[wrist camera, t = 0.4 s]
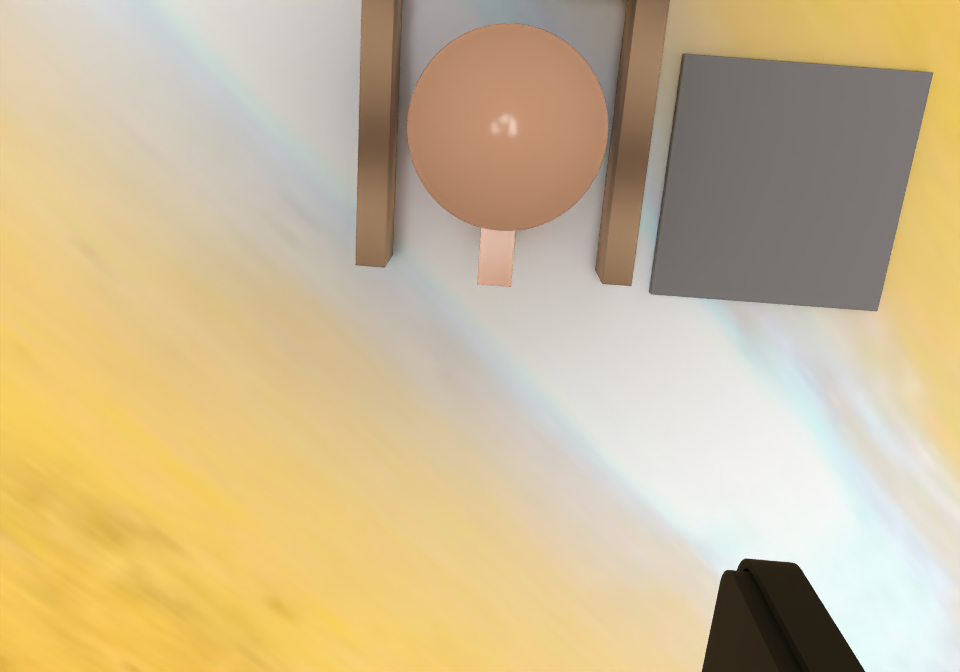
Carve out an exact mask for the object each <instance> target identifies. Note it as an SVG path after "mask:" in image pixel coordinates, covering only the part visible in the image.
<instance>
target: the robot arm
mask: <svg viewBox="0 0 960 672" xmlns="http://www.w3.org/2000/svg"><path fill="white" fill-rule="evenodd" d="M702 672H865V671H864V669H863V667H862V666H861V664H860V663H859V661H858V659H857V658H856V656H855V655H854V653H853V651H852V650H851V648H850V647H849V645H848V643H847V642H846V640H845V639H844V637H843V635H842V634H841V632H840V631H839V629H838V627H837V626H836V624H835V623H834V621H833V619H832V618H831V616H830V615H829V613H828V611H827V610H826V608H825V607H824V605H823V603H822V602H821V600H820V599H819V597H818V595H817V594H816V592H815V591H814V589H813V587H812V586H811V584H810V583H809V581H808V579H807V578H806V576H805V575H804V573H803V572H802V570H801V569H800V567H799V566H798V565H797V564H795V563H791V562H779V561H768V560H756V559H744V560H742V561H741V563H740V564H739V566H738V569H737V571H734V570H726V571H725V572H724V573H723V575H722V578H721V581H720V586H719V591H718V596H717V601H716V605H715V610H714V615H713V620H712V625H711V630H710V635H709V639H708V644H707V649H706V654H705V659H704V664H703V669H702Z"/></svg>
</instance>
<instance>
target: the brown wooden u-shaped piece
mask: <svg viewBox="0 0 960 672" xmlns="http://www.w3.org/2000/svg"><path fill="white" fill-rule="evenodd" d="M669 1H670V0H627V8H626V16H625V25H624V33H623V41H622V50H621V58H620V67H619V75H618V84H617V92H616V100H615V109H614V117H613V126H612V134H611V143H610V151H609V160H608V168H607V176H606V185H605V193H604V202H603V210H602V219H601V227H600V235H599V244H598V252H597V261H596V269H595V271H596V272H597V274H598V276H599V278H600V280H601V282H602V284H611V285H624V286H631V285H632V278H633V270H634V263H635V255H636V248H637V240H638V233H639V225H640V218H641V210H642V203H643V195H644V188H645V180H646V173H647V165H648V158H649V150H650V143H651V136H652V128H653V121H654V113H655V106H656V98H657V91H658V83H659V76H660V68H661V61H662V53H663V46H664V38H665V31H666V23H667V16H668V8H669ZM401 20H402V0H362V19H361V61H360V103H359V145H358V187H357V229H356V265H359V266H372V267H385V266H386V265H387V263H388V261H389V260H390V258H391V257H392V255H393V229H394V203H395V177H396V150H397V124H398V98H399V72H400V46H401Z"/></svg>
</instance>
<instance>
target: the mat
mask: <svg viewBox="0 0 960 672" xmlns="http://www.w3.org/2000/svg"><path fill="white" fill-rule="evenodd" d="M932 76H933V73H932V72H919V71H906V70H892V69H879V68H866V67H852V66H839V65H826V64H812V63H799V62H786V61H772V60H759V59H745V58H732V57H719V56H705V55H692V54H683V57H682V64H681V71H680V78H679V85H678V92H677V99H676V106H675V113H674V120H673V127H672V134H671V142H670V149H669V156H668V163H667V170H666V177H665V184H664V191H663V198H662V205H661V212H660V219H659V227H658V234H657V241H656V248H655V255H654V262H653V269H652V276H651V283H650V290H649V292H650V294H654V295H667V296H681V297H694V298H707V299H721V300H734V301H747V302H760V303H774V304H787V305H800V306H813V307H827V308H840V309H853V310H867V311H878V307H879V302H880V298H881V294H882V290H883V285H884V281H885V277H886V272H887V268H888V264H889V260H890V255H891V251H892V247H893V242H894V238H895V234H896V230H897V225H898V221H899V217H900V213H901V208H902V204H903V200H904V195H905V191H906V187H907V183H908V178H909V174H910V170H911V166H912V161H913V157H914V153H915V148H916V144H917V140H918V136H919V131H920V127H921V123H922V118H923V114H924V110H925V106H926V101H927V97H928V93H929V89H930V84H931V80H932Z"/></svg>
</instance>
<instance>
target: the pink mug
mask: <svg viewBox="0 0 960 672" xmlns="http://www.w3.org/2000/svg"><path fill="white" fill-rule="evenodd" d="M407 138H408V145H409V151H410V154H411V158H412V162H413V165H414V167H415V169H416V172H417V174H418V176H419V178H420V180H421V181H422V183H423V185H424V186H425V188H426V189H427V190H428V192H429V193H430V194H431V196H432V197H433V198H434V199H435V200H436V201H437V202H438V203H439V204H440V205H441V206H442V207H443V208H445V209H446V210H447V211H448V212H450V213H451V214H452V215H454V216H456V217H457V218H459V219H461V220H463V221H465V222H467V223H470V224H472V225H474V226H478V227H481V238H480V252H479V266H478V280H477V284H480V285H494V286H507V287H511V279H512V267H513V255H514V244H515V232H516V230H524V229H529V228H532V227H536V226H539V225H542V224H544V223H547V222H549V221H551V220H553V219H555V218H556V217H558V216H560V215H561V214H563V213H564V212H566V211H567V210H568V209H570V208H571V207H572V206H573V205H574V204H575V203H576V202H577V201H578V200H579V199H580V198H581V197H582V196H583V195H584V193H585V192H586V191H587V190H588V188H589V187H590V185H591V184H592V182H593V180H594V179H595V177H596V175H597V173H598V171H599V169H600V166H601V164H602V161H603V158H604V155H605V151H606V145H607V140H608V113H607V107H606V102H605V98H604V95H603V92H602V89H601V86H600V84H599V82H598V80H597V78H596V76H595V74H594V72H593V71H592V69H591V68H590V66H589V65H588V63H587V62H586V61H585V60H584V58H583V57H582V56H581V55H580V54H579V53H578V52H577V51H576V50H575V49H574V48H573V47H571V46H570V45H569V44H568V43H567V42H565V41H564V40H562V39H560V38H559V37H557V36H556V35H554V34H552V33H549V32H547V31H545V30H543V29H539V28H536V27H533V26H529V25H522V24H495V25H488V26H485V27H481V28H478V29H475V30H472V31H470V32H468V33H466V34H463V35H462V36H460V37H458V38H457V39H455V40H453V41H452V42H450V43H449V44H448V45H447V46H445V47H444V48H443V49H442V50H441V51H440V52H439V53H438V54H437V55H436V56H435V57H434V58H433V59H432V60H431V61H430V63H429V64H428V66H427V67H426V68H425V70H424V71H423V73H422V75H421V77H420V78H419V80H418V82H417V84H416V87H415V89H414V92H413V95H412V98H411V102H410V106H409V111H408V120H407Z"/></svg>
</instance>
